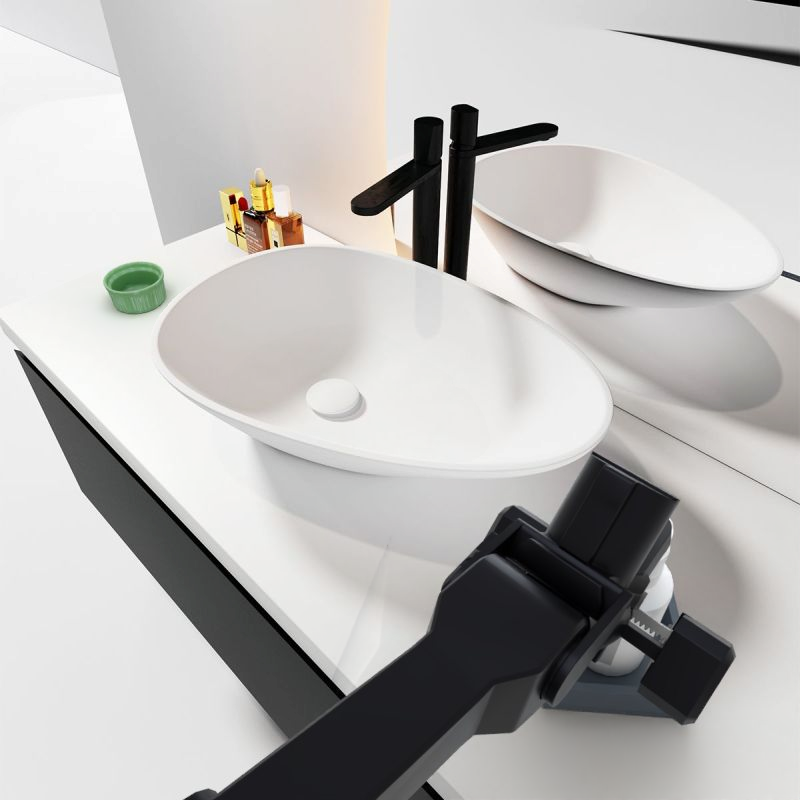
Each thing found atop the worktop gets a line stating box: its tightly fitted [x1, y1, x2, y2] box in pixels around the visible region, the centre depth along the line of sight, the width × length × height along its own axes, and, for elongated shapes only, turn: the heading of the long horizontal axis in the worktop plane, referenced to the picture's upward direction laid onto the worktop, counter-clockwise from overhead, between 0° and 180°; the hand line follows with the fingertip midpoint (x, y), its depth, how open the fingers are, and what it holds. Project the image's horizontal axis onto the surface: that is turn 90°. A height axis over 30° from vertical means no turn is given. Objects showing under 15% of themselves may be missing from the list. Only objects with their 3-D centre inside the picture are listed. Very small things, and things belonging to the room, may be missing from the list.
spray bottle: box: [587, 518, 675, 676], centre depth 59 cm, size 7×7×18 cm
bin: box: [541, 592, 680, 719], centre depth 65 cm, size 13×13×4 cm
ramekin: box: [102, 261, 167, 314], centre depth 109 cm, size 9×9×4 cm
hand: (618, 597), depth 58 cm, fingers open, 9 cm apart
